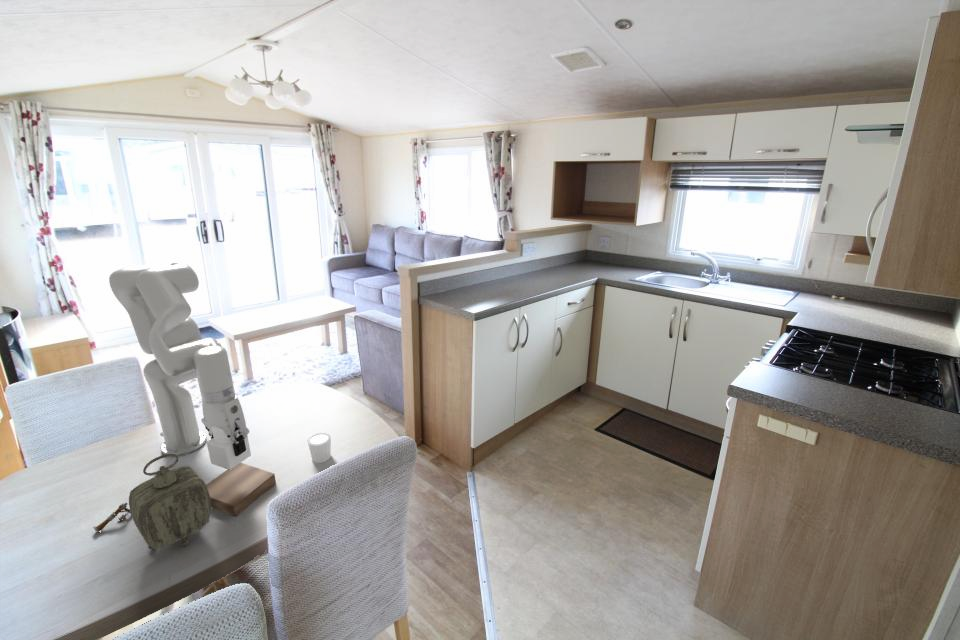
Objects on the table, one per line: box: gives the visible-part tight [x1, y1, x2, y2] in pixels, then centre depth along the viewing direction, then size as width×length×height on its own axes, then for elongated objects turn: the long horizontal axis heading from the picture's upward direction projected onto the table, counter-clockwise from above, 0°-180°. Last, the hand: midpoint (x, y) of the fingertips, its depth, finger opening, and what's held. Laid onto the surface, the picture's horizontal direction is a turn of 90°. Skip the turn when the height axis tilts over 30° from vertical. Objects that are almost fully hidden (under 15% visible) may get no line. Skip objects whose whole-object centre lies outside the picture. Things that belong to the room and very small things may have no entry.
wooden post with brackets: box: [92, 502, 131, 533], centre depth 116 cm, size 2×8×4 cm, turn 145°
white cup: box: [307, 432, 332, 464], centre depth 142 cm, size 7×7×7 cm
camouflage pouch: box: [128, 454, 212, 550], centre depth 107 cm, size 14×9×25 cm, turn 140°
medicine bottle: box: [206, 426, 252, 470], centre depth 121 cm, size 7×7×12 cm
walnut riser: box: [205, 462, 277, 517], centre depth 127 cm, size 14×14×4 cm
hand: (229, 449), depth 122 cm, fingers closed on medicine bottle, 7 cm apart
